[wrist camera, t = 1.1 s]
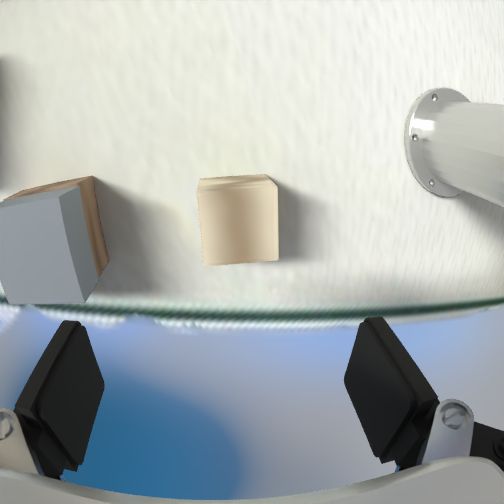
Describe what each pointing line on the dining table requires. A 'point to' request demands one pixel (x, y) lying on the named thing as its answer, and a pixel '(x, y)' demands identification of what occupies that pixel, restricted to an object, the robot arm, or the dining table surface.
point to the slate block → (46, 249)
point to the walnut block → (89, 213)
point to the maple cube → (238, 219)
